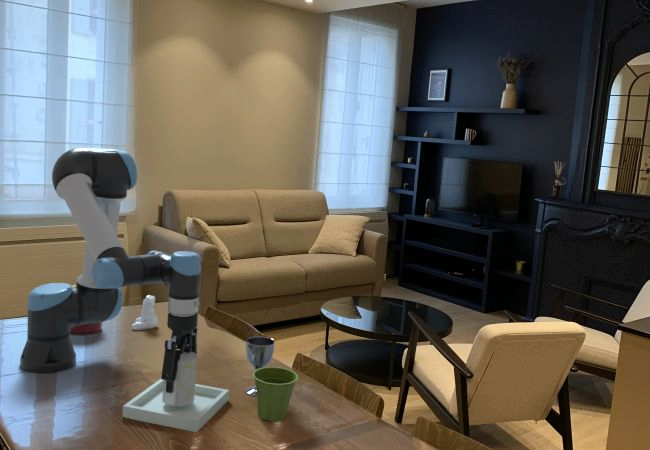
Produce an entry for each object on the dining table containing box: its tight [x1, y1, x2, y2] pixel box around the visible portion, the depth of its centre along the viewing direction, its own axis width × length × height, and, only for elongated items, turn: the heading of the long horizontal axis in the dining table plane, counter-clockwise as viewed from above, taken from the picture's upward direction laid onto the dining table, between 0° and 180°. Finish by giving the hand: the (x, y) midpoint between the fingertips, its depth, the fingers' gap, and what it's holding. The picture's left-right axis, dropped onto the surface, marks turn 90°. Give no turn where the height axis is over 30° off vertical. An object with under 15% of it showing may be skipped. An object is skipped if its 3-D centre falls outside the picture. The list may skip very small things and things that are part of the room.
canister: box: [70, 284, 103, 336], centre depth 216 cm, size 13×13×18 cm
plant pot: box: [252, 366, 299, 422], centre depth 163 cm, size 12×12×11 cm
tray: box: [122, 378, 230, 433], centre depth 163 cm, size 20×20×3 cm
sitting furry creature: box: [131, 294, 159, 331], centre depth 226 cm, size 10×9×12 cm
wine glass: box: [243, 335, 276, 398], centre depth 177 cm, size 8×8×15 cm
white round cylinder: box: [162, 352, 198, 406], centre depth 162 cm, size 8×8×12 cm
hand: (178, 396), depth 163 cm, fingers closed on white round cylinder, 8 cm apart
